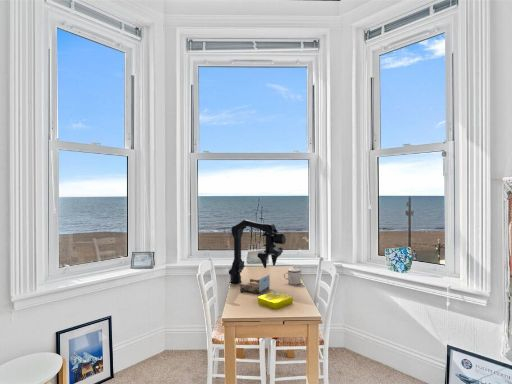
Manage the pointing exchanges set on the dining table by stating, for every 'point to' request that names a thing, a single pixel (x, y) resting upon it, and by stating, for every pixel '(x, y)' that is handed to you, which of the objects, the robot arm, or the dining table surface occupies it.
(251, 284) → the cube with rounded ends
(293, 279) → the teacup with lid
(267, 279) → the tailgate
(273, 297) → the element tile
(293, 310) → the dining table surface
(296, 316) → the dining table surface
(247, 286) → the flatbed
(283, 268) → the dining table surface
